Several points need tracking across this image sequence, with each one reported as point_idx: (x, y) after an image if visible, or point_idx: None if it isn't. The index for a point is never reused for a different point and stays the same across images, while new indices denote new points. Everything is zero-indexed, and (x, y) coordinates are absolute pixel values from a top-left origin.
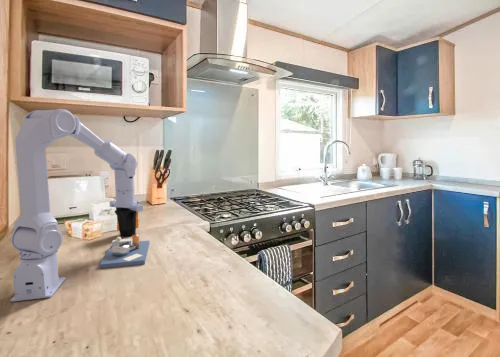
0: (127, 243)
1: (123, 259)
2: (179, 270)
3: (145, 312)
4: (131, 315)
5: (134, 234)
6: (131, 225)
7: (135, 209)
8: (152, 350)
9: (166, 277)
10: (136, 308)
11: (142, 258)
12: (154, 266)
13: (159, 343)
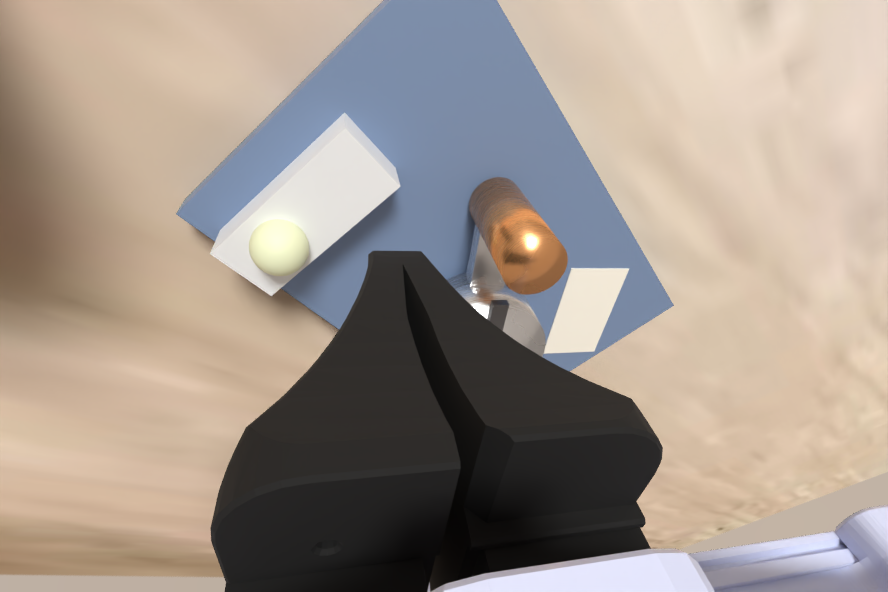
0: (505, 315)
1: (551, 353)
2: (867, 257)
3: (794, 453)
4: (763, 470)
5: (517, 264)
6: (441, 277)
7: (776, 586)
8: (838, 488)
9: (813, 327)
10: (765, 456)
11: (650, 296)
12: (725, 284)
13: (847, 477)
